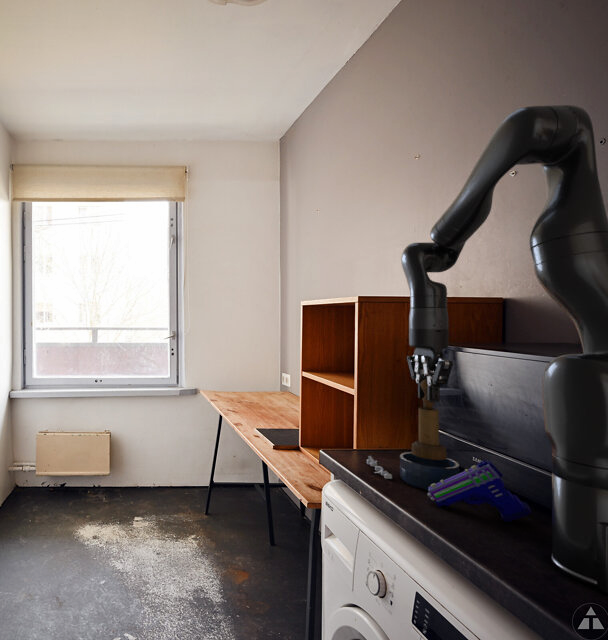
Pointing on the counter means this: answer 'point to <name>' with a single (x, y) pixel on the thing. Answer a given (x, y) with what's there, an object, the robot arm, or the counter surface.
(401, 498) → the counter surface
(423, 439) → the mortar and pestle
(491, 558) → the counter surface
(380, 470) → the figurines set
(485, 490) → the toy gun
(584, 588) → the counter surface
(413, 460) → the blue bowl
